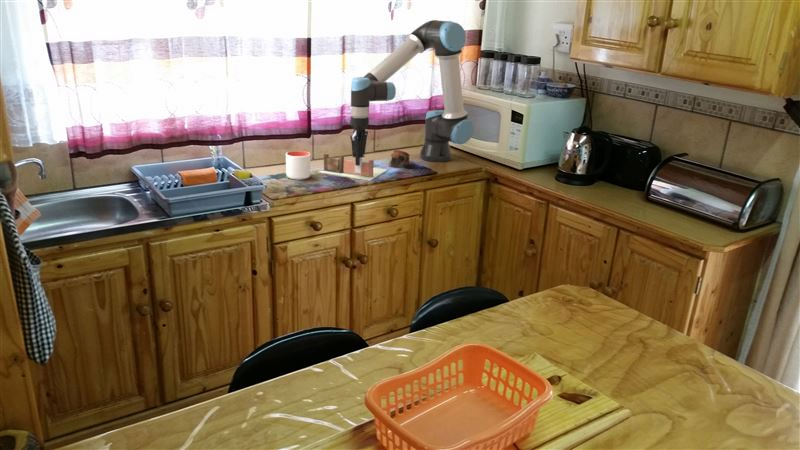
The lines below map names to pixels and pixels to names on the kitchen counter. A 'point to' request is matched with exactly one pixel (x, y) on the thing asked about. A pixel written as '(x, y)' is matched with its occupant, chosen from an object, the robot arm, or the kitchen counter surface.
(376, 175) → the card
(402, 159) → the brown rock
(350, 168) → the fence panel
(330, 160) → the fence fixed
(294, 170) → the cup
